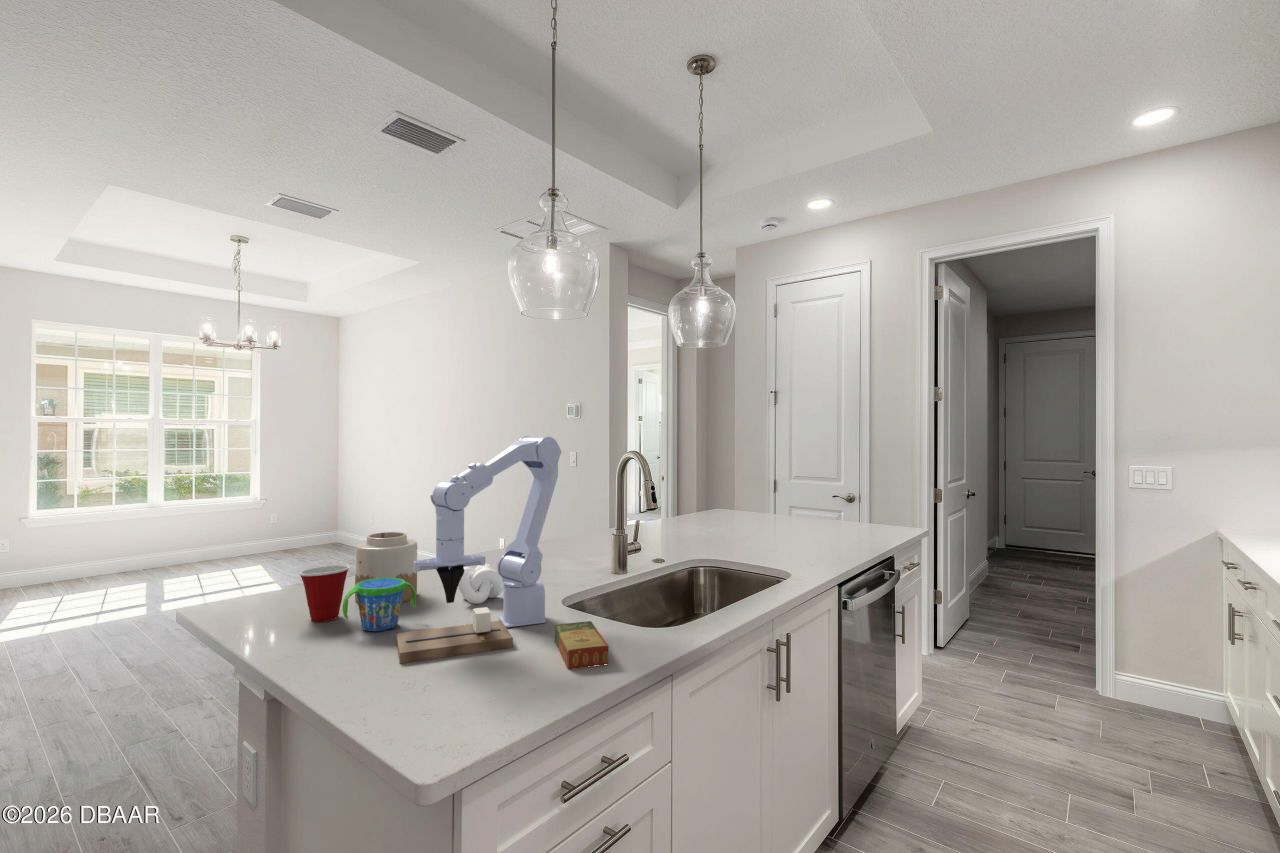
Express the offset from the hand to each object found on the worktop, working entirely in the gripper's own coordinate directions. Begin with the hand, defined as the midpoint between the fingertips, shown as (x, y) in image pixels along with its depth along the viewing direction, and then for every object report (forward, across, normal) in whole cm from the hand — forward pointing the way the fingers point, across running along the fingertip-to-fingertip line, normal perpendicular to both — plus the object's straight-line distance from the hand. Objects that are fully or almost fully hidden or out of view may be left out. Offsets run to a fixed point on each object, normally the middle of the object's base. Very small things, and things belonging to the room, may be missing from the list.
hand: (450, 601), depth 129 cm
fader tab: (+6, +6, -3) cm, 9 cm away
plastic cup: (+9, -25, +28) cm, 38 cm away
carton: (+9, +24, -17) cm, 30 cm away
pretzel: (+9, +12, +28) cm, 32 cm away
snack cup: (+9, -13, +16) cm, 22 cm away
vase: (+9, -11, +41) cm, 43 cm away
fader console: (+8, 0, -3) cm, 9 cm away
